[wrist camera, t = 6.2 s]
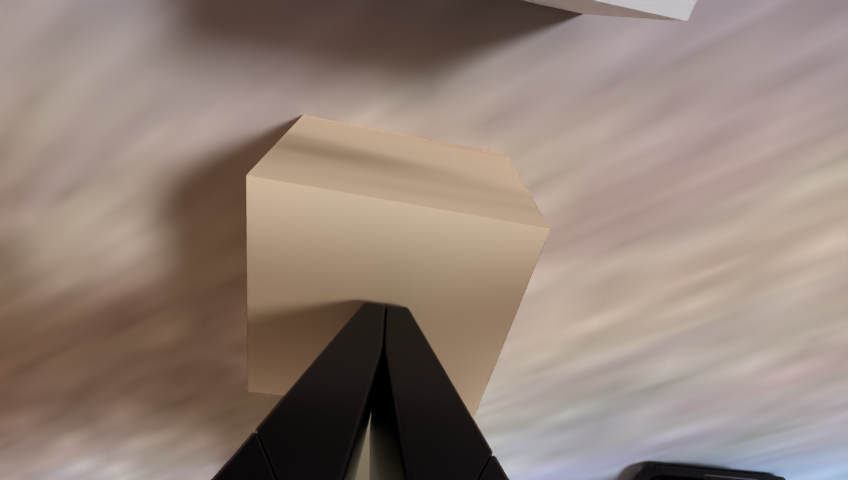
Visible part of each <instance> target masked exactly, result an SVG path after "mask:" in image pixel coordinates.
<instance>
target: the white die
mask: <svg viewBox="0 0 848 480" xmlns="http://www.w3.org/2000/svg"><path fill="white" fill-rule="evenodd" d="M522 1H526V2H531V3H535V4H540V5H544V6H549V7H554V8H558V9H563V10H567V11H572V12H576V13H581V14H591V15H605V16H619V17H634V18H648V19H662V20H677V21H688V19H689V16H690V14H691V12H692V9H693V7H694V5H695V3H696V0H522Z"/></svg>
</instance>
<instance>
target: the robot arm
mask: <svg viewBox="0 0 848 480" xmlns="http://www.w3.org/2000/svg"><path fill="white" fill-rule="evenodd" d="M370 414H371V416H370ZM369 419H370V436H369V441H370V442H369V443H370V480H509V479H508V477H507V475H506V474H505V472H504V470H503V469H502V467H501V465H500V463H499V462H498V460H497V458H496V457H495V456H492V450H491V448H490V447H489V445H488V443H487V441H486V440H485V438H484V436H483V435H482V433H481V431H480V429H479V428H478V426H477V424H476V423H475V421H474V419H473V417H472V416H471V414H470V412H469V411H468V409H467V407H466V406H465V404H464V402H463V400H462V399H461V397H460V395H459V394H458V392H457V390H456V388H455V387H454V385H453V383H452V382H451V380H450V378H449V376H448V375H447V373H446V371H445V370H444V368H443V366H442V364H441V363H440V361H439V359H438V358H437V356H436V354H435V352H434V351H433V349H432V347H431V346H430V344H429V342H428V341H427V339H426V337H425V335H424V334H423V332H422V330H421V329H420V327H419V325H418V323H417V322H416V320H415V318H414V317H413V315H412V313H411V311H410V310H409V309H408V308H407V307H404V306H397V305H387V307H385V305H384V304H382V303H375V302H364V303H363V304H362V305H361V306H360V307H359V308H358V309H357V311H356V312H355V313H354V314H353V315H352V316H351V318H350V319H349V320H348V321H347V322H346V324H345V325H344V326H343V327H342V328H341V329H340V331H339V332H338V333H337V334H336V335H335V336H334V338H333V339H332V340H331V341H330V342H329V343H328V345H327V346H326V347H325V348H324V349H323V351H322V352H321V353H320V354H319V355H318V356H317V358H316V359H315V360H314V361H313V362H312V364H311V365H310V366H309V367H308V368H307V369H306V371H305V372H304V373H303V374H302V375H301V376H300V378H299V379H298V380H297V381H296V382H295V383H294V385H293V386H292V387H291V388H290V389H289V391H288V392H287V393H286V394H285V395H284V396H283V398H282V399H281V400H280V401H279V402H278V404H277V405H276V406H275V407H274V408H273V409H272V411H271V412H270V413H269V414H268V415H267V416H266V418H265V419H264V420H263V421H262V422H261V423H260V425H259V426H258V427H257V428H256V433H252V434H251V435H250V436H249V437H248V438H247V440H246V441H245V442H244V443H243V444H242V445H241V447H240V448H239V449H238V450H237V451H236V453H235V454H234V455H233V456H232V457H231V458H230V459H229V460H228V462H227V463H226V464H225V465H224V466H223V467H222V468H221V469H220V470H219V472H218V473H217V474H216V475H215V476H214V477H213V478H212V479H211V480H355V478H356V474H357V470H358V466H359V462H360V458H361V454H362V450H363V446H364V442H365V438H366V433H367V429H368V424H369ZM636 480H786V479H785V478H783V477H778V476H768V475H758V474H748V473H738V472H728V471H717V470H707V469H697V468H687V467H677V466H667V465H652V466H649V467H647V468H645V469H644V470H643V471H642V472H641V474H640V475H639V476H638V478H637V479H636Z"/></svg>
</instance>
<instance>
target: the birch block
mask: <svg viewBox="0 0 848 480" xmlns="http://www.w3.org/2000/svg"><path fill="white" fill-rule="evenodd" d="M246 215H247V341H248V392H254V393H262V394H271V395H280V396H284V395H285V394H286V393H287V392H288V391H289V389H290V388H291V387H292V386H293V385H294V383H295V382H296V381H297V380H298V379H299V378H300V376H301V375H302V374H303V373H304V372H305V371H306V369H307V368H308V367H309V366H310V365H311V364H312V362H313V361H314V360H315V359H316V358H317V356H318V355H319V354H320V353H321V352H322V351H323V349H324V348H325V347H326V346H327V345H328V343H329V342H330V341H331V340H332V339H333V338H334V336H335V335H336V334H337V333H338V332H339V331H340V329H341V328H342V327H343V326H344V325H345V324H346V322H347V321H348V320H349V319H350V318H351V316H352V315H353V314H354V313H355V312H356V311H357V309H358V308H359V307H360V306H361V305H362V304H363V303H364V302H375V303H382V304H384V305H385V307H387V305H397V306H404V307H407V308H408V309H409V310H410V311H411V313H412V315H413V317H414V318H415V320H416V322H417V323H418V325H419V327H420V329H421V330H422V332H423V334H424V335H425V337H426V339H427V341H428V342H429V344H430V346H431V347H432V349H433V351H434V352H435V354H436V356H437V358H438V359H439V361H440V363H441V364H442V366H443V368H444V370H445V371H446V373H447V375H448V376H449V378H450V380H451V382H452V383H453V385H454V387H455V388H456V390H457V392H458V394H459V395H460V397H461V399H462V400H463V402H464V404H465V406H466V407H467V409H468V411H469V412H470V414H471V416H472V417H473V418H474V416H475V414H476V411H477V409H478V406H479V404H480V401H481V399H482V396H483V394H484V391H485V389H486V386H487V384H488V382H489V379H490V377H491V374H492V372H493V369H494V367H495V364H496V362H497V359H498V357H499V354H500V352H501V350H502V347H503V345H504V342H505V340H506V337H507V335H508V332H509V330H510V327H511V325H512V322H513V320H514V317H515V315H516V313H517V310H518V308H519V305H520V303H521V300H522V298H523V295H524V293H525V290H526V288H527V285H528V283H529V281H530V278H531V276H532V273H533V271H534V268H535V266H536V263H537V261H538V258H539V256H540V253H541V251H542V249H543V246H544V244H545V241H546V239H547V236H548V234H549V231H550V227H549V225H548V224H547V222H546V220H545V219H544V217H543V215H542V214H541V212H540V210H539V209H538V207H537V205H536V204H535V202H534V200H533V199H532V197H531V195H530V194H529V192H528V190H527V189H526V187H525V185H524V184H523V182H522V180H521V179H520V177H519V175H518V174H517V172H516V170H515V169H514V167H513V165H512V164H511V162H510V160H509V159H508V157H507V155H505V154H500V153H495V152H490V151H485V150H480V149H475V148H470V147H465V146H460V145H455V144H450V143H445V142H439V141H434V140H429V139H424V138H419V137H414V136H409V135H404V134H399V133H394V132H389V131H384V130H378V129H373V128H368V127H363V126H358V125H353V124H348V123H343V122H338V121H333V120H328V119H323V118H318V117H312V116H307V115H303V116H302V117H301V118H300V119H299V120H298V121H297V122H296V123H295V124H294V125H293V126H292V127H291V128H290V129H289V130H288V131H287V132H286V134H285V135H284V136H283V137H282V138H281V139H280V140H279V141H278V142H277V143H276V144H275V145H274V146H273V147H272V148H271V149H270V150H269V152H268V153H267V154H266V155H265V156H264V157H263V158H262V159H261V160H260V161H259V162H258V163H257V164H256V165H255V166H254V167H253V168H252V170H251V171H250V172H249V173H248V174H247V175H246Z"/></svg>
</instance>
